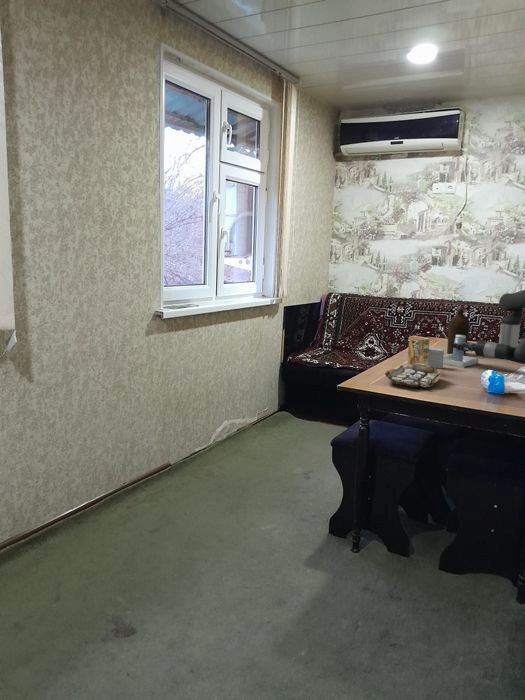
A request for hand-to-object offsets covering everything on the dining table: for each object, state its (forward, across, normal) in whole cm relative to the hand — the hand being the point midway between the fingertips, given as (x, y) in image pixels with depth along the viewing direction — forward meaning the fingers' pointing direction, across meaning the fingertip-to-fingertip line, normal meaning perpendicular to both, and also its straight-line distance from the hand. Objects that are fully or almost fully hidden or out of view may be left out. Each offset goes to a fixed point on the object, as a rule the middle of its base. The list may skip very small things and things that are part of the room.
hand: (453, 344), depth 259 cm
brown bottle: (+9, -23, +9) cm, 26 cm away
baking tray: (-8, +52, +10) cm, 53 cm away
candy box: (+3, +30, +9) cm, 31 cm away
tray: (-2, 0, +9) cm, 9 cm away
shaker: (-3, 0, +8) cm, 9 cm away
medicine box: (+1, +18, +9) cm, 20 cm away
